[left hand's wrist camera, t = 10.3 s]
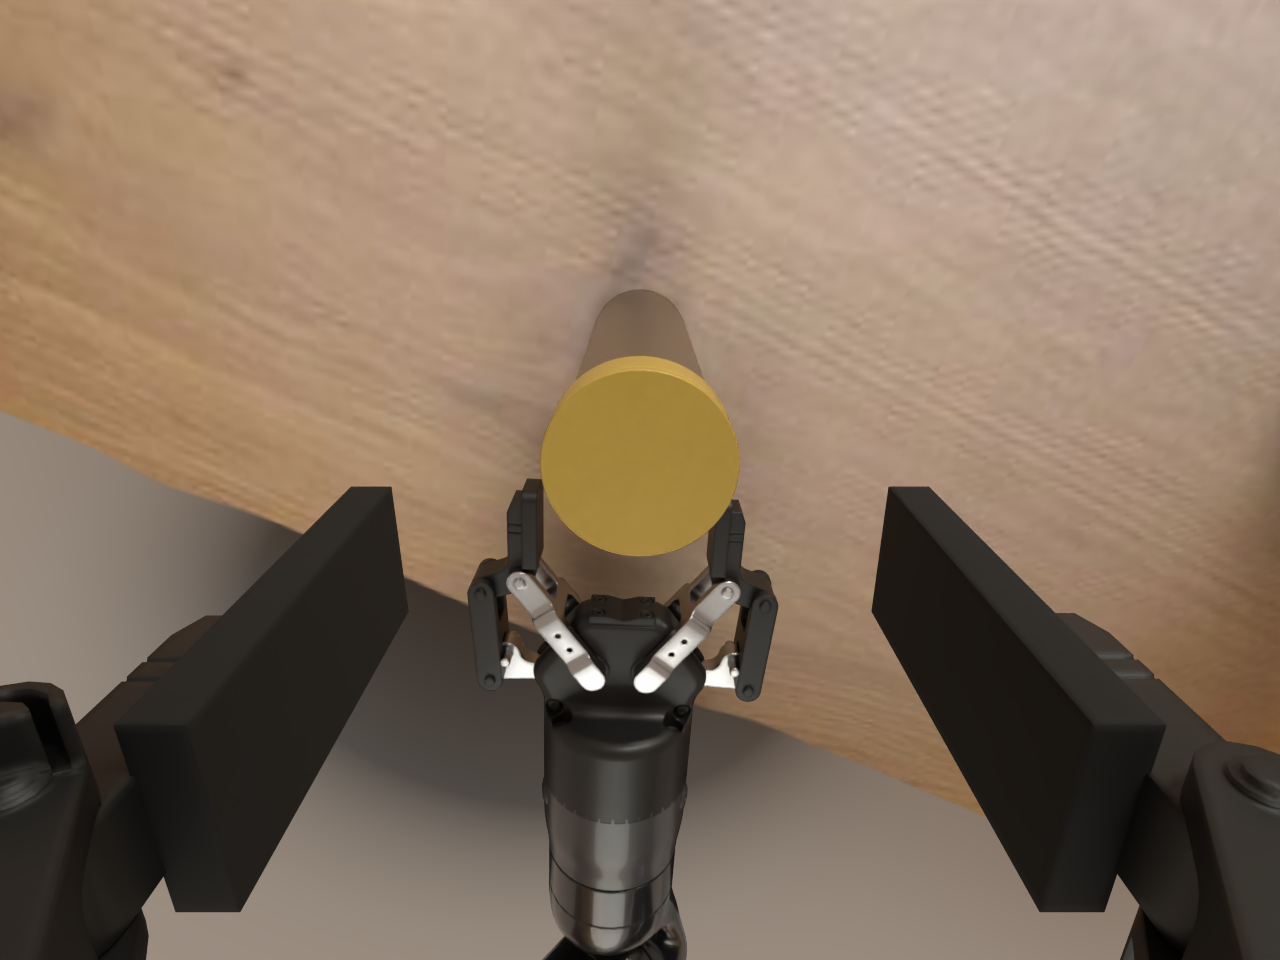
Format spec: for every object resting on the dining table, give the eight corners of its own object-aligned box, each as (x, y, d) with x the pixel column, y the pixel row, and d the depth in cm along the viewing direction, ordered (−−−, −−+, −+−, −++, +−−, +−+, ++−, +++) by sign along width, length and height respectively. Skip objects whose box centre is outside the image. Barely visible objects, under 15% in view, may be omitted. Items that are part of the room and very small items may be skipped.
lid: (537, 515, 20) (528, 541, 19) (560, 340, 19) (553, 353, 17) (711, 542, 21) (717, 570, 19) (750, 372, 19) (760, 388, 17)
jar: (588, 373, 36) (542, 526, 19) (601, 281, 34) (564, 362, 18) (676, 388, 36) (707, 552, 20) (693, 298, 35) (744, 392, 18)
